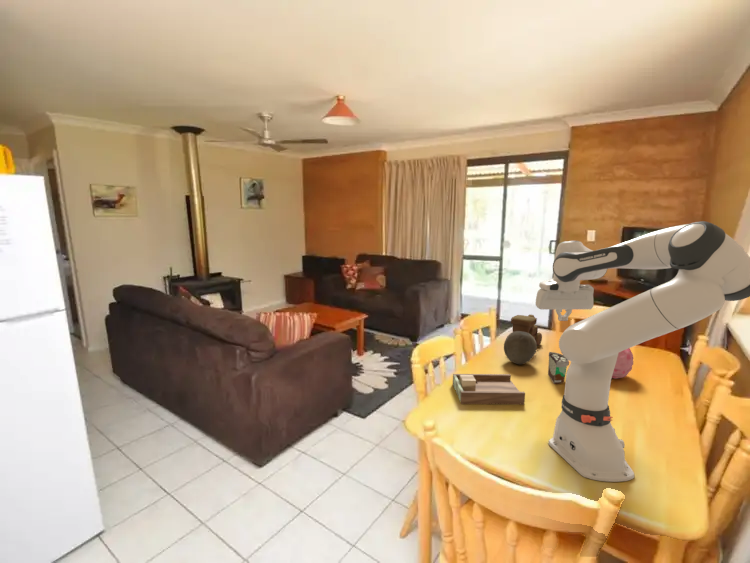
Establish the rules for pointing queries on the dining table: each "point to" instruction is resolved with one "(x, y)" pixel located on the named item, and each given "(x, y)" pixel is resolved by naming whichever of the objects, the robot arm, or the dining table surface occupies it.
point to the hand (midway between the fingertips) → (562, 320)
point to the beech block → (467, 382)
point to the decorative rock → (623, 364)
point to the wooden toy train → (527, 326)
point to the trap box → (489, 390)
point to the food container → (557, 367)
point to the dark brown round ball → (520, 347)
